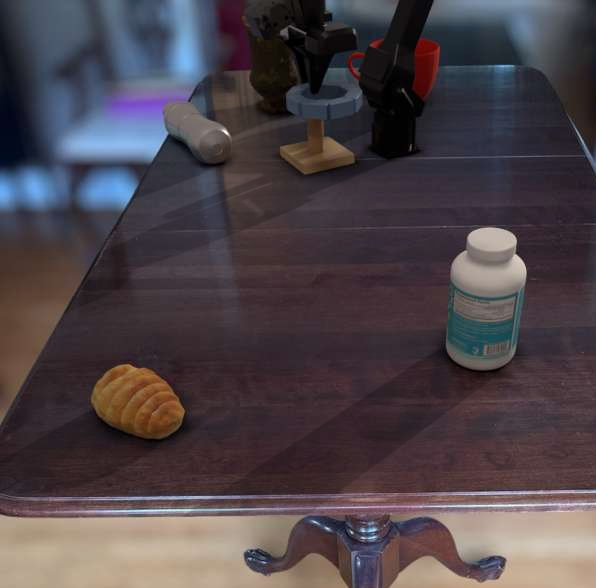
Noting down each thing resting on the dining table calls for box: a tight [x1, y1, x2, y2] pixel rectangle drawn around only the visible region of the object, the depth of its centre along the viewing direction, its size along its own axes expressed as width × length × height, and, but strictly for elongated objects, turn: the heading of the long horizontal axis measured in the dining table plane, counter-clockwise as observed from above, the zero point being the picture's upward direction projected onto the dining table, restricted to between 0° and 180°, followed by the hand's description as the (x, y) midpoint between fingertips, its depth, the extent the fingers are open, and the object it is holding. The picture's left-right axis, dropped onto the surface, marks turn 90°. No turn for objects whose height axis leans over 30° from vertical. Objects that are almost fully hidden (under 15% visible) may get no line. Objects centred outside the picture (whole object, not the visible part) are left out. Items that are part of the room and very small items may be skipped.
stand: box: [279, 118, 355, 176], centre depth 114 cm, size 9×9×8 cm
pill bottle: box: [445, 227, 527, 371], centre depth 72 cm, size 8×7×14 cm
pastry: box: [90, 363, 186, 440], centre depth 68 cm, size 9×7×4 cm
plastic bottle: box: [162, 100, 233, 165], centre depth 118 cm, size 6×7×20 cm
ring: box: [286, 80, 363, 121], centre depth 103 cm, size 10×10×2 cm
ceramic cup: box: [347, 38, 441, 101], centre depth 134 cm, size 13×17×10 cm
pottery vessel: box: [241, 15, 301, 114], centre depth 130 cm, size 25×11×20 cm, turn 175°
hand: (310, 91), depth 105 cm, fingers closed on ring, 2 cm apart
